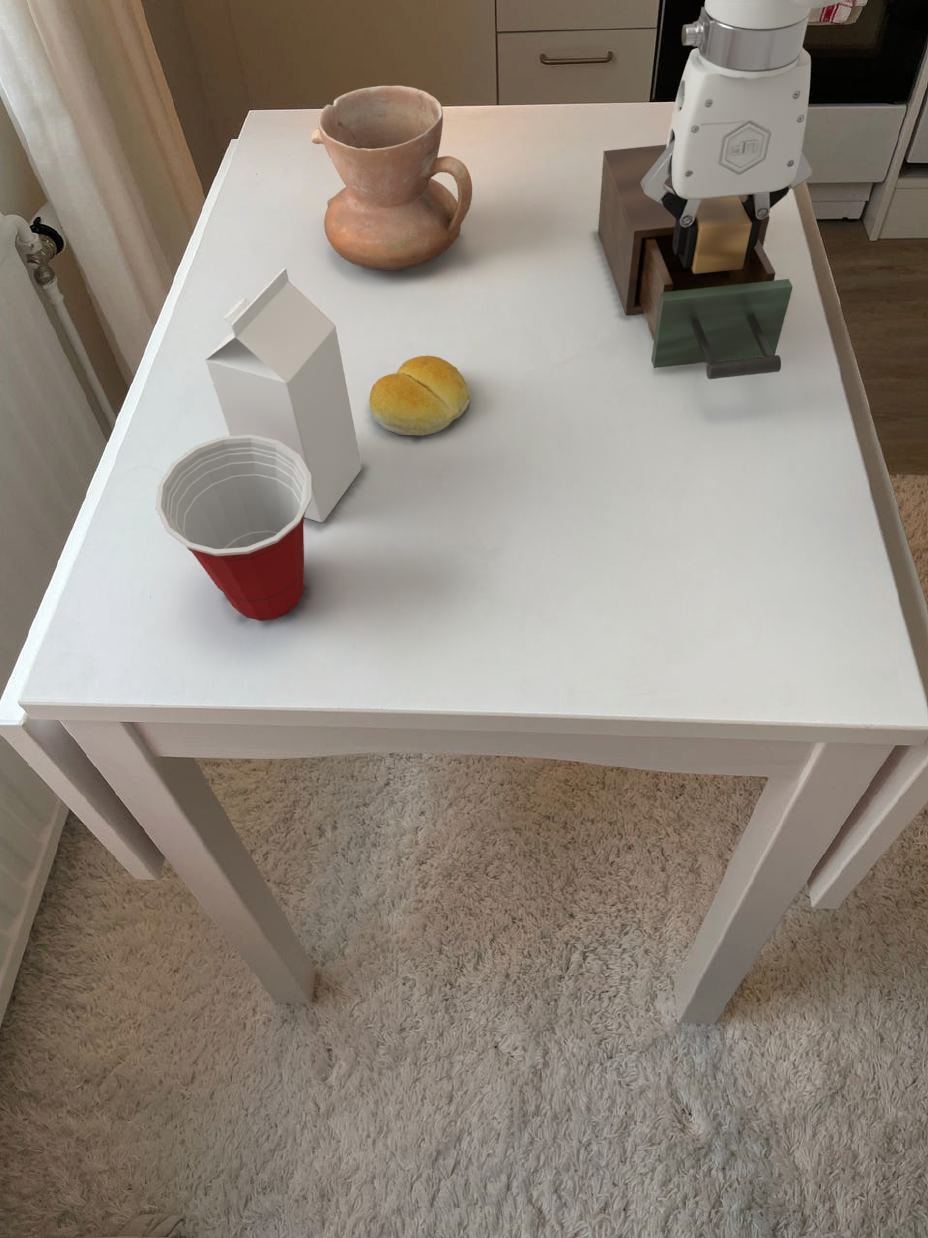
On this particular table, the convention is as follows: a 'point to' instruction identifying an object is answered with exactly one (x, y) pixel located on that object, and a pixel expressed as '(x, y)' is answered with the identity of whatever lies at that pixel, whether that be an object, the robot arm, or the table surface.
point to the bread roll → (420, 397)
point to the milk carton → (289, 386)
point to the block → (721, 235)
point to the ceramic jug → (390, 178)
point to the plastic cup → (242, 519)
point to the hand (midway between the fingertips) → (712, 254)
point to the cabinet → (633, 216)
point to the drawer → (712, 312)
